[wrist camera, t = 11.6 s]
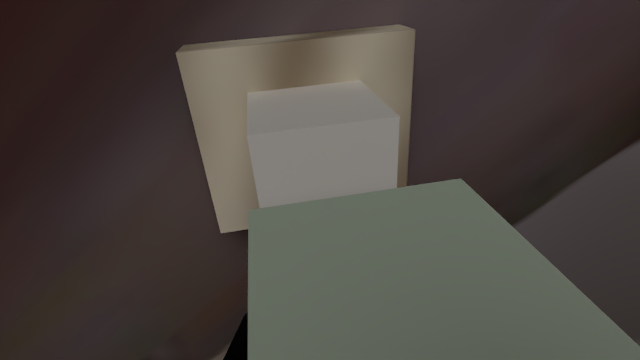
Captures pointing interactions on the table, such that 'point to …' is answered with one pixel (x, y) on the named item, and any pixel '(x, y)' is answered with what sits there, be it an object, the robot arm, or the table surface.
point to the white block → (321, 142)
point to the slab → (280, 73)
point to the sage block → (412, 284)
